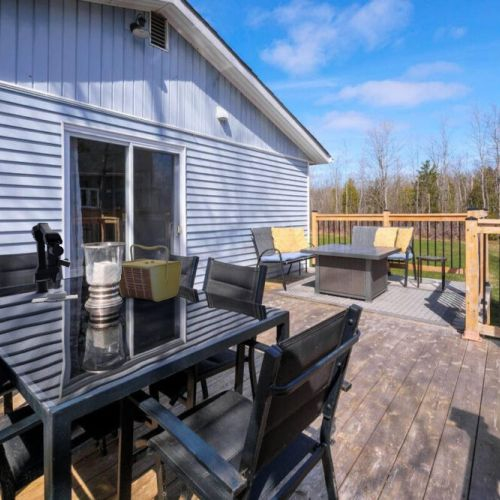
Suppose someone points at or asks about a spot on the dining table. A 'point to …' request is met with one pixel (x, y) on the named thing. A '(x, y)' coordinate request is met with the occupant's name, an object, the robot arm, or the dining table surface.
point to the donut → (56, 295)
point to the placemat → (54, 299)
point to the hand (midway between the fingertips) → (54, 282)
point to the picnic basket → (150, 277)
